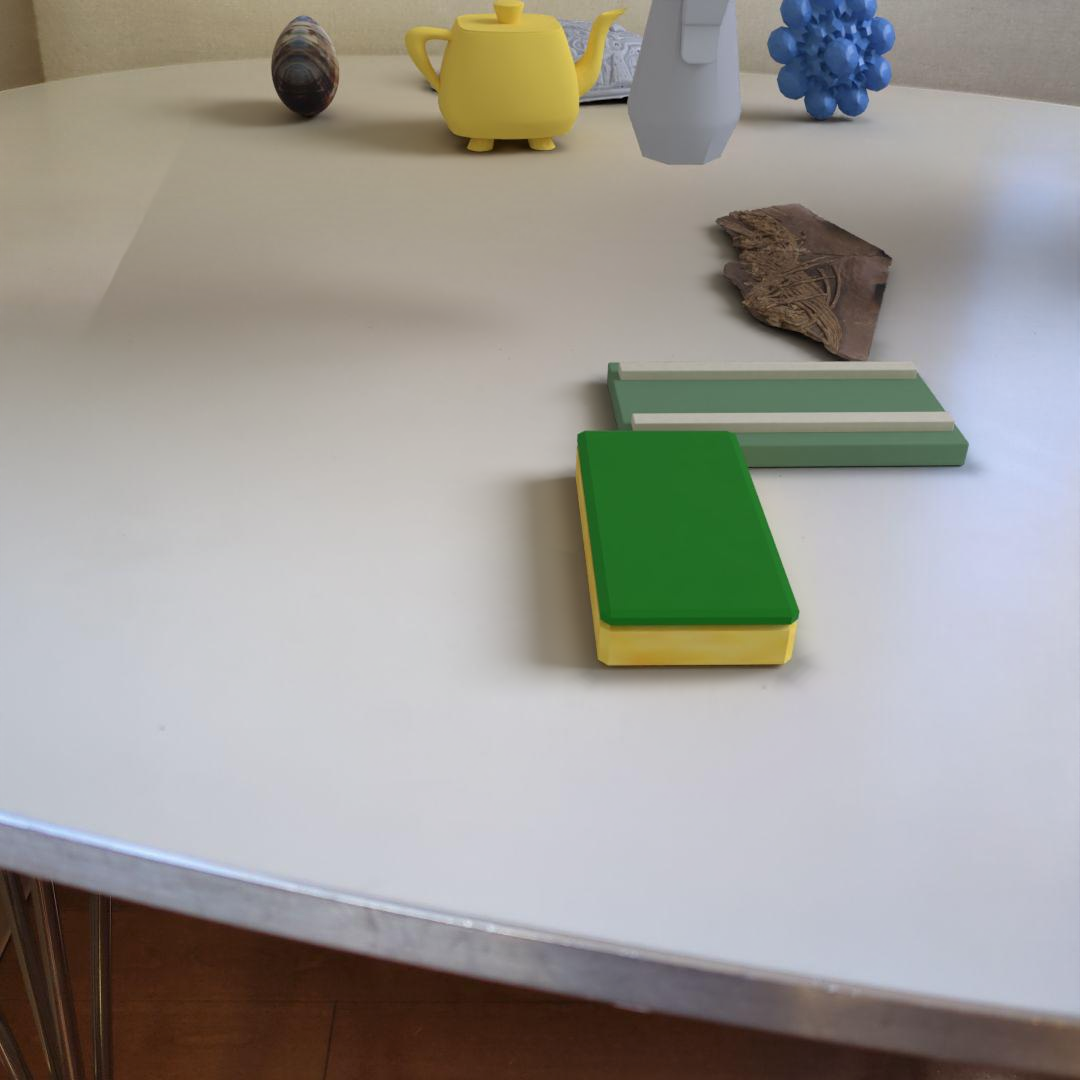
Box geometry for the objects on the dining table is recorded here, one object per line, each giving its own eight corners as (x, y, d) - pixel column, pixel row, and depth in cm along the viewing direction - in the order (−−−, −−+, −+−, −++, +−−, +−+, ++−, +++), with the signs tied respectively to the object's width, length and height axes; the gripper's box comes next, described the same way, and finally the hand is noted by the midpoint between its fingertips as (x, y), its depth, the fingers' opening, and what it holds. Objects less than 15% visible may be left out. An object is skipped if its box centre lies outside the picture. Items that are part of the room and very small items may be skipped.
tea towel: (905, 381, 64) (912, 351, 63) (964, 466, 57) (972, 433, 56) (606, 382, 63) (608, 351, 62) (626, 468, 56) (628, 435, 55)
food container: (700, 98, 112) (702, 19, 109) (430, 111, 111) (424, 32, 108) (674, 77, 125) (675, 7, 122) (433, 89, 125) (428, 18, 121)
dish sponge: (598, 668, 44) (601, 615, 42) (574, 475, 55) (576, 428, 54) (792, 667, 44) (802, 614, 43) (729, 475, 55) (734, 428, 54)
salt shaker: (681, 177, 60) (706, -120, 53) (601, 151, 63) (614, -131, 56) (758, 157, 63) (791, -126, 56) (678, 133, 67) (699, -136, 59)
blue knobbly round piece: (771, 133, 105) (789, -17, 98) (751, 112, 111) (768, -31, 104) (900, 132, 106) (927, -16, 99) (874, 112, 112) (898, -30, 105)
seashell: (284, 101, 110) (275, 7, 106) (347, 102, 111) (341, 8, 106) (268, 129, 102) (258, 28, 98) (335, 130, 103) (328, 29, 98)
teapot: (608, 119, 107) (615, -11, 101) (633, 155, 98) (642, 13, 92) (405, 122, 105) (400, -11, 99) (411, 159, 96) (406, 14, 90)
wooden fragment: (712, 208, 87) (714, 193, 86) (866, 215, 86) (869, 200, 86) (733, 361, 66) (735, 343, 65) (938, 372, 65) (942, 355, 64)
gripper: (852, -284, 44) (800, 104, 52) (744, -278, 61) (716, 14, 69) (683, -289, 44) (654, 102, 52) (620, -281, 61) (606, 12, 69)
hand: (689, 51), depth 61 cm, fingers closed on salt shaker, 3 cm apart
